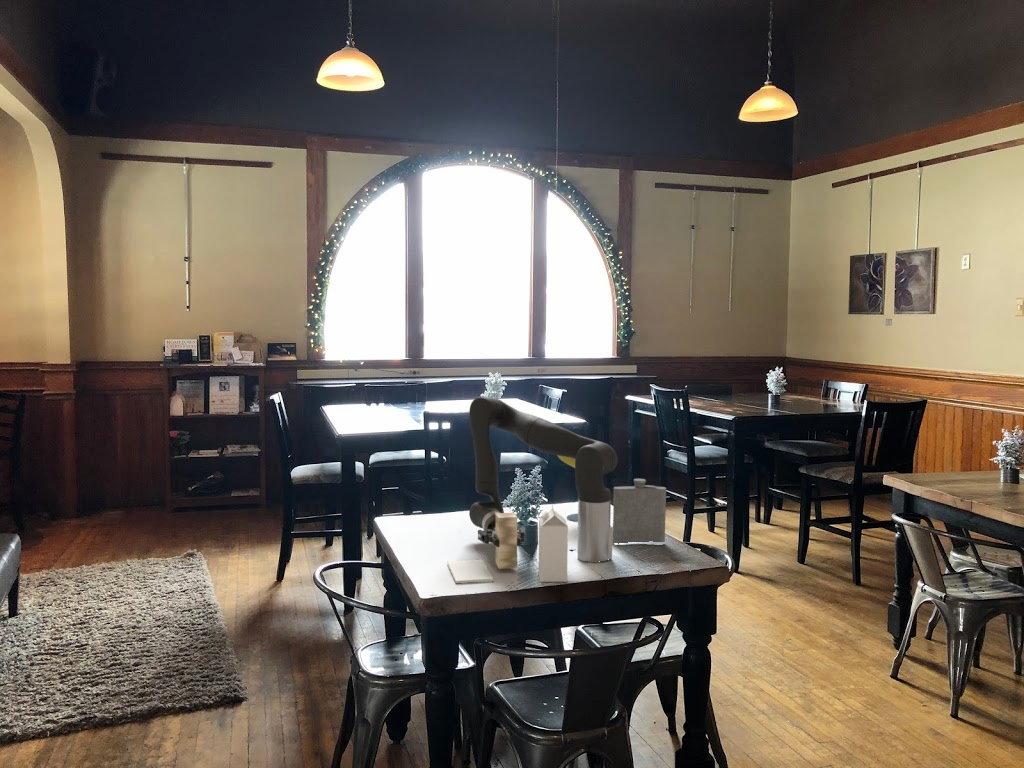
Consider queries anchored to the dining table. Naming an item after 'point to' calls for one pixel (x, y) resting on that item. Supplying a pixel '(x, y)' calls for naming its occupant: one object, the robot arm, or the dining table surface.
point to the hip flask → (639, 513)
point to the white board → (470, 571)
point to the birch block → (506, 540)
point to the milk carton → (553, 547)
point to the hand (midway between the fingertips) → (508, 542)
